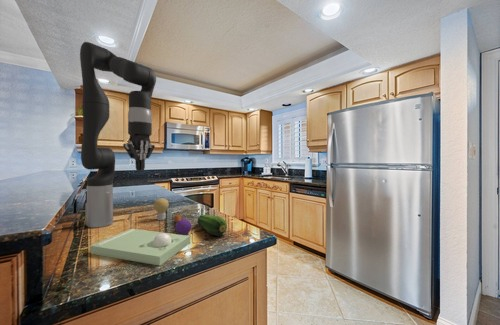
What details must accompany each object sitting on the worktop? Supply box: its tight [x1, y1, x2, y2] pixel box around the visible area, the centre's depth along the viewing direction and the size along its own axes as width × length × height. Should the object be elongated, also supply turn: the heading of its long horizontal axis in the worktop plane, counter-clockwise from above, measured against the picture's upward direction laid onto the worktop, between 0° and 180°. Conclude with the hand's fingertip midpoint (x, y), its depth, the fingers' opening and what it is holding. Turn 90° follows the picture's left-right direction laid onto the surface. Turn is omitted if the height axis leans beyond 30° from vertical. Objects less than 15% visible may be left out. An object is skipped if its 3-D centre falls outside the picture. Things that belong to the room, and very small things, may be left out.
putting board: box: [89, 228, 191, 266], centre depth 71 cm, size 25×16×3 cm, turn 75°
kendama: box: [173, 214, 193, 236], centre depth 90 cm, size 6×6×20 cm
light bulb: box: [153, 197, 169, 221], centre depth 102 cm, size 6×6×10 cm
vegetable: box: [196, 214, 228, 237], centre depth 89 cm, size 7×7×20 cm
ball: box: [153, 232, 172, 248], centre depth 69 cm, size 6×6×6 cm
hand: (140, 170), depth 78 cm, fingers closed
